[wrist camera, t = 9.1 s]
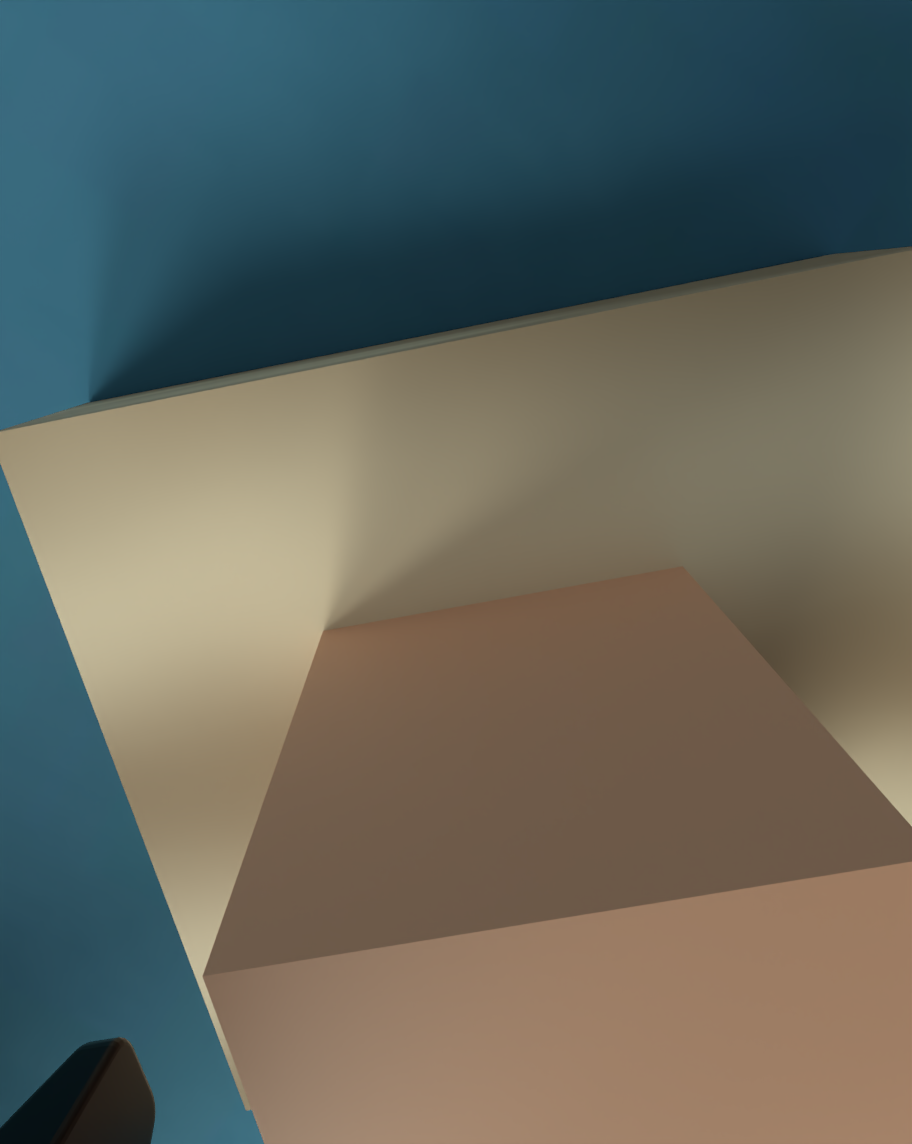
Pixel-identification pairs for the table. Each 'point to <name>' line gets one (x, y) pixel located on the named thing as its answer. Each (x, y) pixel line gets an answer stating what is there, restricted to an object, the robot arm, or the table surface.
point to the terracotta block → (567, 891)
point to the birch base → (480, 521)
